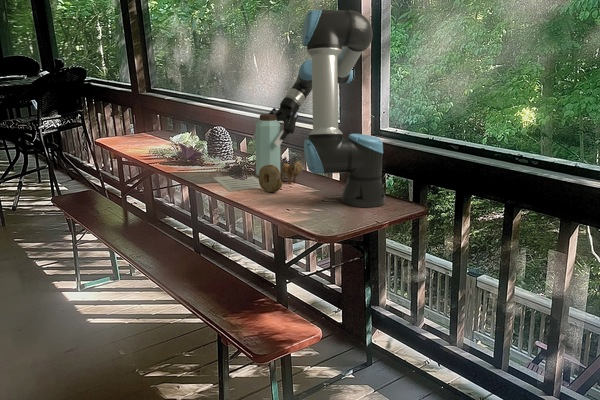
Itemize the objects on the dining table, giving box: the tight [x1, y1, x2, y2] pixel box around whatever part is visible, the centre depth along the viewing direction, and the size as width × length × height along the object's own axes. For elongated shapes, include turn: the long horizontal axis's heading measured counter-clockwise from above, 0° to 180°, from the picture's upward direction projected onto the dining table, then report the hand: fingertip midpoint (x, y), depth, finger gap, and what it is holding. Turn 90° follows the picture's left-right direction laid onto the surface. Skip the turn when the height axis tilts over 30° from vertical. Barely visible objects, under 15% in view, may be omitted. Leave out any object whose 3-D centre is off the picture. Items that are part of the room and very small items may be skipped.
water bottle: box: [255, 113, 281, 177], centre depth 232 cm, size 10×10×25 cm
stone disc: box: [258, 165, 283, 193], centre depth 211 cm, size 10×4×10 cm, turn 46°
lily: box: [176, 142, 205, 167], centre depth 253 cm, size 12×12×10 cm
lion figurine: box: [280, 161, 305, 185], centre depth 226 cm, size 15×5×9 cm, turn 36°
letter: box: [212, 174, 262, 192], centre depth 225 cm, size 22×16×1 cm
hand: (264, 142), depth 231 cm, fingers open, 13 cm apart
